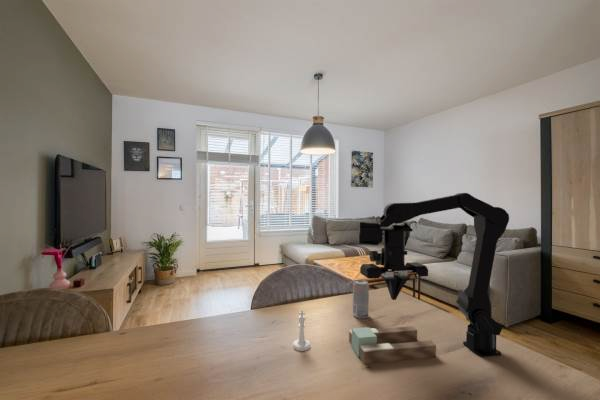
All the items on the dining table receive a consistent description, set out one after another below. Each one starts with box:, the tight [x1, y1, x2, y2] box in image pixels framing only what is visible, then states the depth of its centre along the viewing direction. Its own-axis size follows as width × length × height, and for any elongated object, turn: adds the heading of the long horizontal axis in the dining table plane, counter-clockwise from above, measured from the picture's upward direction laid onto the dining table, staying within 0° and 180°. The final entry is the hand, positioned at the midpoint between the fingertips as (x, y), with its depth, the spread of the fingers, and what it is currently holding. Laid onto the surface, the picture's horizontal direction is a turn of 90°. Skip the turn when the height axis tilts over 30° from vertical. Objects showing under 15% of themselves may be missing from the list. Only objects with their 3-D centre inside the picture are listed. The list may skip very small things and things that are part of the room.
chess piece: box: [292, 309, 311, 352], centre depth 74 cm, size 5×5×10 cm
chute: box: [348, 326, 437, 365], centre depth 73 cm, size 20×11×3 cm, turn 100°
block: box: [351, 326, 377, 358], centre depth 72 cm, size 5×5×5 cm
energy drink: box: [352, 279, 370, 320], centre depth 94 cm, size 5×5×12 cm
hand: (393, 299), depth 78 cm, fingers closed
